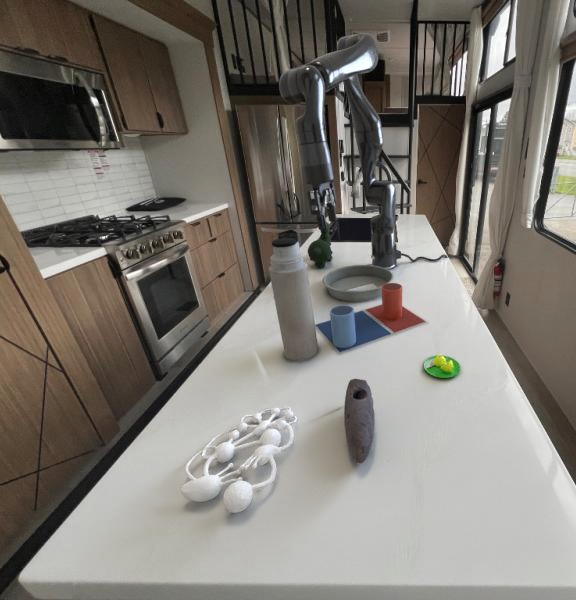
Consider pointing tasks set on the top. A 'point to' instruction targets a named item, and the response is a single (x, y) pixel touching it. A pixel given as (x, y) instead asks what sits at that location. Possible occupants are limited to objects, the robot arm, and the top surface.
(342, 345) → the blue tumbler
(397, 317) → the red tumbler
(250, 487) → the tangled rod sculpture
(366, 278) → the cake pan
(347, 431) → the perforated stone tool
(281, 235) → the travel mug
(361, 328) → the blue mat
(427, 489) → the top surface
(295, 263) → the thermos bottle
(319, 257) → the toy figurine
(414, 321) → the red mat
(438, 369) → the green plate with lumps
